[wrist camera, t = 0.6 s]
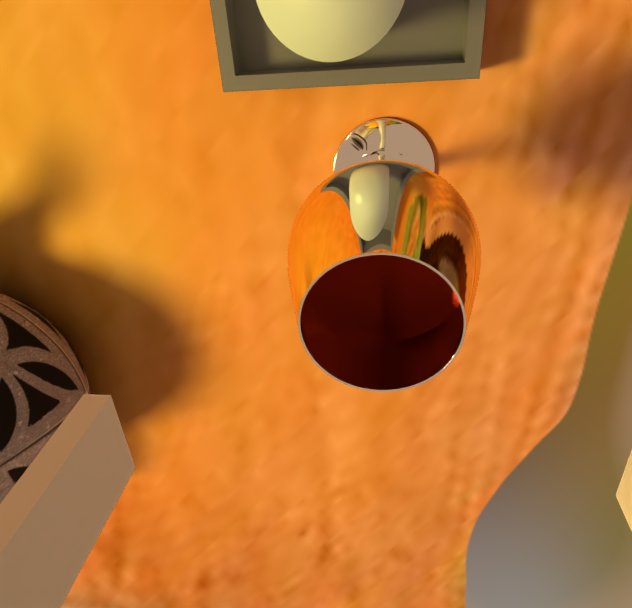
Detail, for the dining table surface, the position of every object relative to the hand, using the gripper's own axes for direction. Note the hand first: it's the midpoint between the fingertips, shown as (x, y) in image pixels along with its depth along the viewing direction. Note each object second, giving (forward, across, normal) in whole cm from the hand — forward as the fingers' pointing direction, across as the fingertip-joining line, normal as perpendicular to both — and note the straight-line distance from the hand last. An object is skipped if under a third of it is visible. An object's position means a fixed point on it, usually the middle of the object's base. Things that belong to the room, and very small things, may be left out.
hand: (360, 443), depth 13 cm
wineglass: (+24, 0, 0) cm, 24 cm away
